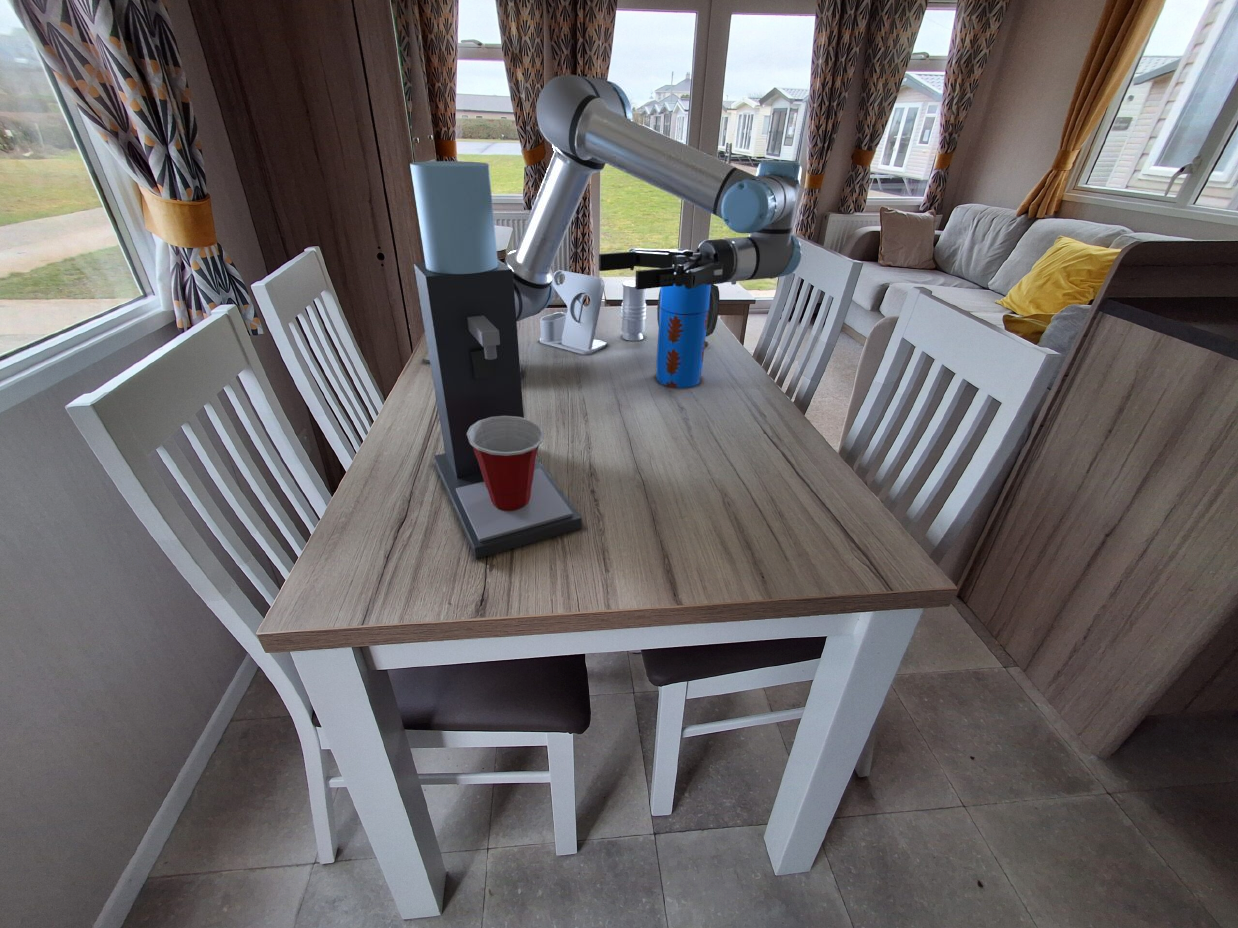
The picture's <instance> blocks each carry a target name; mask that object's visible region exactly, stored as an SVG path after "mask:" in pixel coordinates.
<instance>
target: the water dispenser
mask: <svg viewBox="0 0 1238 928" xmlns="http://www.w3.org/2000/svg"><path fill="white" fill-rule="evenodd" d="M409 166H410V172H411V179H412V185H413V191H414V200H415V205H416V211H417V218H418V224H419V230H420V237H421V245H422V251H423V257H424V262H416V263H415V262H414V263H413V267H414V273H415V279H416V285H417V292H418V298H419V304H420V309H421V310H420V311H421V315H422V322H423V329H424V335H425V339H426V345H427V352H428V358H429V359H428V360H430V364H429V365H430V370H431V371H430V372H431V376H432V380H433V381H432V382H433V390H434V395H435V401H436V406H437V412H438V419H439V424H440V431H441V436H442V443H443V449H444V453H441V454H435V455H433V461H434V466H435V468H436V470H437V473H438V475H439V478H440V480H441V482H442V484H443V487H444V489H445V491H446V493H447V496H448V498H449V500H450V503H451V505H452V507H453V510H454V512H455V514H456V516H457V519H458V521H459V524H460V526H461V528H462V531H463V532H464V535H465V537H466V540H467V542H468V544H469V547H470V549H471V551H472V554H473V556H474V558H475V559H476V560H479V559H482V558H486V557H489V556H492V555H496V554H499V553H502V552H506V551H509V550H513V549H517V548H520V547H523V546H526V545H530V544H533V543H538V542H541V541H543V540H547V539H551V538H554V537H557V536H561V535H565V534H567V533H572V532H575V531H579V530H581V529H582V528H583V527H582V524H583V522H582V521H583V519H582V517H581V515H580V514H579V512H578V511H577V510H576V508H575V507H574V505H573V504H572V503H571V502H570V500H569V499H568V498H567V496H566V495H565V494H564V493H563V491H562V490H561V488H560V487H559V486H558V484H557V483H556V481H555V480H554V479H553V478H552V476H551V475H550V473H549V472H548V471H547V470H546V468H545V466H543V464H542V462H541V461H540V460H539V458H538V457H537V456H536V462H535V469H534V477H533V482H532V488H531V496H530V499H529V503H528V504H527V505H526V506H524V507H522V508H520V509H517V510H513V511H504V510H500V509H497V508H496V507H495V506H493V503H492V502H491V499H490V496H489V493H488V489H487V488H486V485H485V482H484V479H483V476H482V472H481V469H480V466H479V463H478V459H477V457H476V455H475V452H474V449H473V446H472V445H471V444H470V443H469V440H468V437H467V432H468V430H469V428H470V426H472V425H473V424H475V423H476V422H478V421H479V420H483V419H486V418H489V417H496V416H515V417H521V418H525V414H524V403H523V402H524V401H523V400H524V399H523V390H522V389H523V388H522V376H521V375H522V372H521V373H520V361H521V359H520V347H519V336H518V323H517V322H518V321H516V308H515V295H514V282H513V270H512V269H511V268H510V267H508V266H507V265H505V264H504V262H502V261H501V260H499V258H498V251H497V238H496V227H495V218H494V217H495V216H494V206H493V194H492V193H493V192H492V184H491V172H490V164H489V163H488V162H480V161H462V160H461V161H457V160H456V161H455V160H453V161H452V160H447V161H446V160H437V161H435V160H434V161H433V160H432V161H431V160H430V161H429V160H428V161H416V162H410V163H409Z"/></svg>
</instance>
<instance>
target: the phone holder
mask: <svg viewBox="0 0 1238 928" xmlns="http://www.w3.org/2000/svg"><path fill="white" fill-rule="evenodd" d="M561 275H564V280H563V282H562V283H560V277H561ZM552 282H553V283H552V287H553V289H554V290H555V291H556V293H557V294H558V296H559V297H560V298H561V300H562V301H563V302H564V304H565V305H566V307H567V310H566V312H563V311H558V312H554V313H551V314H549V315H545V316H543V317H540V319H539V327H540V338H539V343H540V344H544V345H547V346H551V347H554V348H558V349H561V350H565V351H569V352H573V353H576V354H580V355H584V356H586V355H590V354H593V353H596V351H599V350H601V349H603V348H606V347H607V342H606V341H603V340H600V339H596V338H595V335H596V330H597V327H598V326H597V325H598V321H599V316H600V311H601V306H602V301H603V296H604V291H605V281H604V280H603V278H601V277H598V276H594V275H588V274H583V273H578V272H572V271H568V270H567V271H566V270H561V269H558V270H556V271H555V272H554V273H553V280H552ZM586 296H587V297H589V304H588V305H587V306H585V305H584V303H583V300H584V298H585V297H586Z"/></svg>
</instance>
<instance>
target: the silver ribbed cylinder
mask: <svg viewBox="0 0 1238 928" xmlns="http://www.w3.org/2000/svg"><path fill="white" fill-rule="evenodd" d="M635 281H636V279H633V280H625V281H622V283H621V285H622V302H621V312H620V313H621V315H620V318H621V327H620V330H621V332H623V335H622V339H624V340H627V341H636V342H637V341H640V340H641V341H642V340H643V339H644V336H643V333H645V331H646V321H645V320H646V319H647V316H646V315H647V312H646V311H647V303H646V298H647V297H646V296H647V289H639V290H637V289H635Z"/></svg>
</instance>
